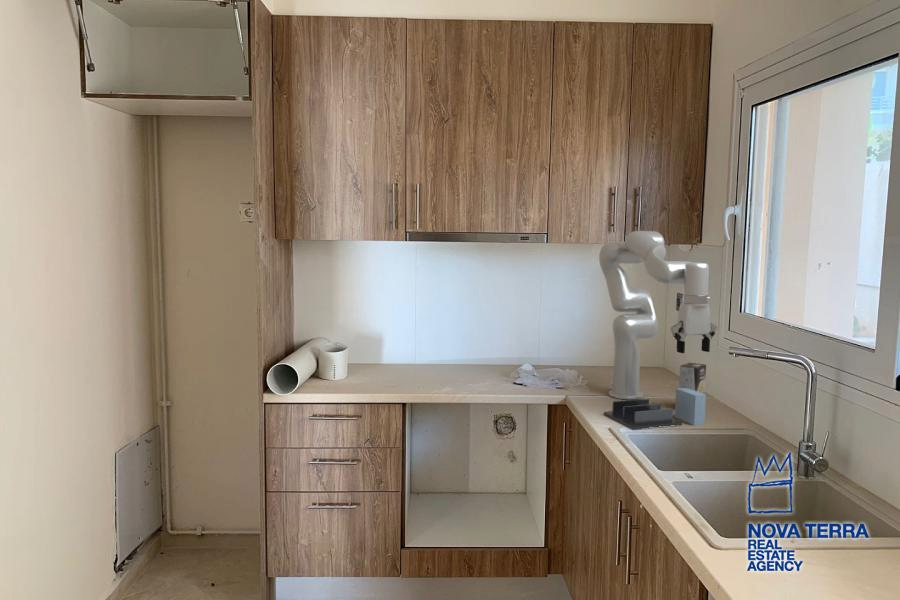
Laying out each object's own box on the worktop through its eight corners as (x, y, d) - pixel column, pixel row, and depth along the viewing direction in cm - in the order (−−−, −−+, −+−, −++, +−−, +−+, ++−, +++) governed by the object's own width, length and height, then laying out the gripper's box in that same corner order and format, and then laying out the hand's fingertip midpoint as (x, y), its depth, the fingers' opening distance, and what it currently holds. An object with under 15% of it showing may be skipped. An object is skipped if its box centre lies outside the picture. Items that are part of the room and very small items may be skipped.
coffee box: (695, 413, 220) (698, 368, 218) (677, 410, 224) (679, 365, 222) (704, 408, 227) (706, 364, 226) (686, 405, 231) (688, 361, 230)
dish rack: (603, 414, 217) (604, 400, 217) (648, 410, 223) (649, 397, 222) (633, 429, 200) (634, 414, 200) (681, 425, 206) (682, 410, 205)
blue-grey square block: (674, 417, 215) (676, 388, 214) (684, 416, 217) (686, 387, 216) (694, 425, 206) (695, 395, 205) (704, 424, 207) (705, 394, 206)
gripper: (709, 298, 213) (707, 349, 215) (665, 299, 208) (663, 351, 210) (725, 300, 206) (722, 352, 208) (680, 301, 201) (678, 355, 203)
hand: (693, 352), depth 209 cm, fingers open, 9 cm apart
